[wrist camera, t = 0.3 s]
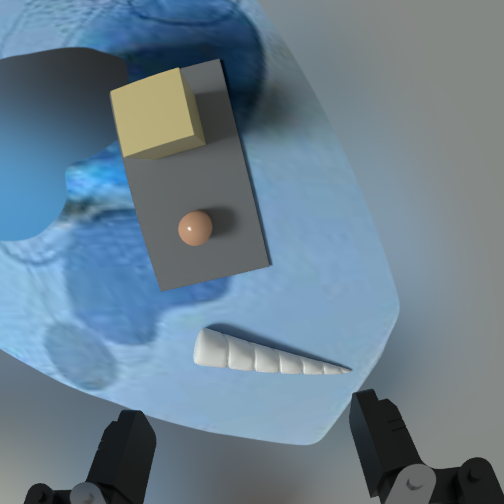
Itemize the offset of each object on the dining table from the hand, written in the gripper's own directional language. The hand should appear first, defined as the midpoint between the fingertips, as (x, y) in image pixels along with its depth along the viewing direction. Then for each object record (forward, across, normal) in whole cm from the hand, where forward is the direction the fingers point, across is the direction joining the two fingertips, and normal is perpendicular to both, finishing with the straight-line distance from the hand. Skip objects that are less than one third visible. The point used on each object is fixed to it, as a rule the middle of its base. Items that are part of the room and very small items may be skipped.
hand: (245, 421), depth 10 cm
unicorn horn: (+27, -1, +19) cm, 33 cm away
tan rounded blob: (+27, +6, -1) cm, 28 cm away
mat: (+28, +6, -6) cm, 30 cm away
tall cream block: (+28, +7, -12) cm, 32 cm away
